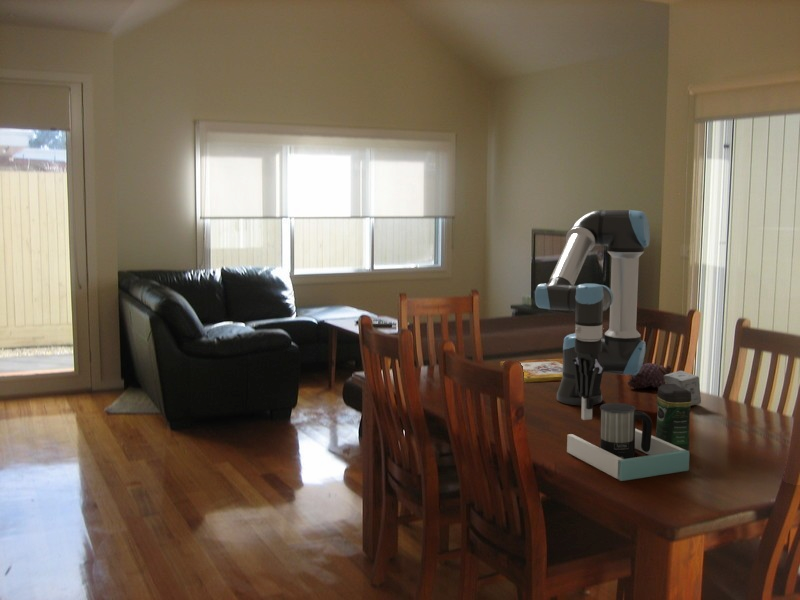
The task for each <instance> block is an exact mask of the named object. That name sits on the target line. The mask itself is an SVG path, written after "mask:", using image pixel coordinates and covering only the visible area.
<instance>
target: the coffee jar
mask: <svg viewBox="0 0 800 600" xmlns="http://www.w3.org/2000/svg"><path fill="white" fill-rule="evenodd" d="M656 400H657V411H656V412H657V416H656V428H655V429H656V430H655V437H657V438H659V439H661V440H664V441H666V442H668V443H671V444H673V445H675V446H678V447H680V448H682V449H685V450H687V451H689V452H690V420H691V419H690V417H691V416H690V415H691V392H690V391H688V390H686V389H684V388H682V387H680V386H677V385H676V384H667V383H665V384H662V385H661V386H660V387H659V388H657V396H656Z"/></svg>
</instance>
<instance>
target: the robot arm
mask: <svg viewBox="0 0 800 600" xmlns="http://www.w3.org/2000/svg"><path fill="white" fill-rule="evenodd" d="M649 223H650V222H649V219H648V216H647V214H646V213H645V212H644V211H642V210H634V209H622V210H621V209H618V210H615V209H614V210H613V209H606V210H605V209H597V210H592V211H590V212H587V213H586V214H583V216H581V217H579V218H578V219H577V220H576V221H575V222H574V223H573V224H572V225H570V227H569V229H568V230H567V233H566V235H565V242H566V243H565V245H564V247H563V250H562V252H561V253H560V255H559V258H558V260H557V263H556V265H555V267H554V269H553V271H552V273H551V275H550V278H549V281H548V282H547V283H546V282H545V283H539V284H537V286H536V288H535V292H534V302H535V306H536V307H538V309H545V310H552V311H553V310H557V311H573V312H575V321H574V322H575V325H574V327H575V328H574V330H575V331H574V333H569V334H567V335H566V336H565V337H564V338H563V346H562V359H563V377H562V380H561V381H560V383H559V386H558V390H557V392H556V400H557V402H560V403H562V404H565V405H571V406H581V410H580V411H581V415H580V416H581V417H580V418H581V420H583V421H587V420H593V409H594V405H595V406H596V405H599V404H601V403H602V402H603V393H602V391H601V390H602V389H601V384H602V383H601V382H602V378H603V374H613V375H622V376H631V375H636V374H638V373H639V371H640V370H641V367H642V365H644V364H643V363H644V360H645V359H644V358H645V355H646V349H647V348H646V346H647V345H646V341H644V340H642V339H641V338H642V336H641V335H642V334H641V333H640V332H639V331H638V330H637V316H638V315H637V314H638V313H637V312H638V309H637V308H638V293H639V292H638V287H639V286H638V285H639V265H640V264H639V263H640V257H641V255H643V254H644V252H645V248H648V247H649V246H650V242H651V241H650V240H651V239H650V238H651V232H650V231H651V230H650V224H649ZM595 246H605V247H606V252H607V253H608V254H609V255H610V257H611V264H610V265H611V267H610V268H611V269H610V272H611V273H610V287H608V286H607V285H604V284H598V283H580V284H578V285H576V281H577V279H578V276H579V275H580V272H581V270H582V267H583V265H584V263H585V261H586V259H587V256H588V254H589V252H590V251H592V250H593V249H594V247H595ZM608 309H609V326H608V327H609V328H608V330H606V331H605V332H604V333H603V315H604V313H603V312H605V311H607V310H608ZM603 334H604V336H603Z"/></svg>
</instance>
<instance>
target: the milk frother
mask: <svg viewBox="0 0 800 600" xmlns="http://www.w3.org/2000/svg"><path fill="white" fill-rule="evenodd" d="M599 409H600V447H599V448H601V449H603V450H606V451H608V452H610V453H612V454H614V455H616V456H618V457H620V458H622V459H628V458H634V456H635V453H636V449H635V428H636V421H637V420H640V421H642V427H641V428H642V429H641V431H642V441H641V448H642V450H643V451H645V452H648V451H649V450H650V444H651V435H653V433H652V432H653V421H652V418H651V417H650V416H649V415H648V414H647V413H646V412H644V411H641V410H636V406H634V405H631V404H628V403H621V402H608V403H603V404H601V405H600V406H599Z"/></svg>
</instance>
